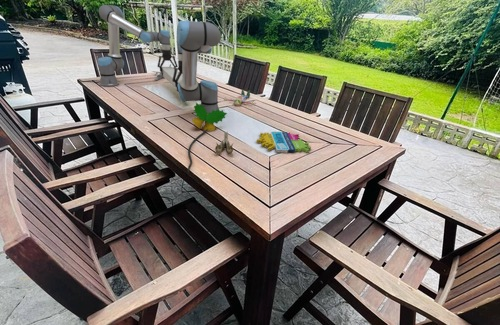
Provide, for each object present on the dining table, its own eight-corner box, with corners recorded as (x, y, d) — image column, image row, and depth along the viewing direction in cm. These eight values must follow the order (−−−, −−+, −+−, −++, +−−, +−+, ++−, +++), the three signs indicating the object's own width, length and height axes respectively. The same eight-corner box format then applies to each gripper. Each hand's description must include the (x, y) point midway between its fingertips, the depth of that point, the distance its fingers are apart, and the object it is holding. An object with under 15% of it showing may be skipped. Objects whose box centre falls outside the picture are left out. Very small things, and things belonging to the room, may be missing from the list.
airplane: (147, 74, 291) (145, 64, 286) (175, 72, 304) (174, 63, 299) (153, 82, 263) (151, 72, 257) (184, 80, 276) (183, 70, 271)
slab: (194, 93, 197) (194, 84, 193) (180, 94, 192) (180, 85, 189) (172, 74, 252) (171, 66, 248) (161, 74, 247) (160, 66, 244)
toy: (261, 91, 228) (254, 99, 202) (261, 99, 231) (253, 108, 205) (231, 87, 233) (220, 95, 207) (230, 95, 236) (219, 104, 210)
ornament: (218, 133, 171) (224, 110, 169) (221, 134, 163) (227, 111, 161) (186, 125, 162) (192, 101, 160) (189, 126, 155) (195, 101, 153)
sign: (313, 150, 142) (258, 149, 139) (312, 153, 143) (258, 152, 140) (301, 132, 164) (254, 130, 161) (301, 134, 165) (254, 133, 162)
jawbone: (234, 135, 144) (233, 125, 135) (233, 160, 138) (232, 151, 129) (217, 135, 144) (216, 125, 135) (216, 160, 138) (214, 150, 129)
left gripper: (178, 49, 240) (179, 74, 251) (152, 48, 231) (154, 74, 242) (180, 50, 235) (181, 75, 246) (153, 49, 225) (156, 76, 236)
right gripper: (196, 59, 197) (197, 88, 208) (165, 59, 187) (168, 90, 197) (200, 60, 191) (201, 91, 202) (168, 61, 181) (171, 93, 192)
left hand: (168, 75), depth 244 cm, fingers closed on slab, 10 cm apart
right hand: (185, 90), depth 200 cm, fingers closed on slab, 10 cm apart
